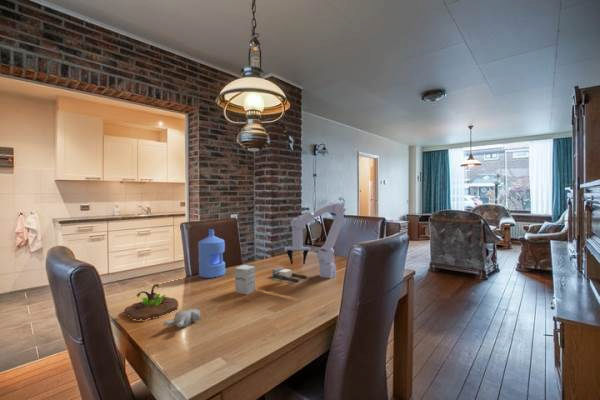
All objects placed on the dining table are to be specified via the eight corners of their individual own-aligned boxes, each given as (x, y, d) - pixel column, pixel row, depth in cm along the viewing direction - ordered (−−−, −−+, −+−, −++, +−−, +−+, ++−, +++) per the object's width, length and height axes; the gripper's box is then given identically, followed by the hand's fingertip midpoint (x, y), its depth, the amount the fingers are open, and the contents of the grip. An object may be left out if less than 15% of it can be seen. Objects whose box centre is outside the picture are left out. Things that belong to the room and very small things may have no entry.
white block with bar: (291, 275, 165) (291, 269, 165) (280, 280, 157) (280, 274, 157) (285, 274, 168) (285, 268, 168) (273, 279, 160) (273, 272, 160)
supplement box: (235, 292, 143) (234, 267, 142) (244, 288, 149) (243, 264, 149) (246, 295, 139) (246, 269, 139) (255, 290, 146) (255, 265, 146)
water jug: (193, 277, 170) (192, 230, 169) (209, 270, 185) (208, 227, 184) (216, 279, 166) (214, 231, 165) (230, 272, 181) (229, 228, 180)
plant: (186, 309, 124) (185, 284, 124) (137, 325, 109) (136, 297, 109) (166, 298, 137) (165, 275, 137) (120, 312, 123) (119, 286, 122)
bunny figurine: (206, 307, 116) (183, 318, 101) (205, 320, 115) (182, 333, 101) (185, 305, 118) (160, 316, 103) (185, 318, 117) (159, 331, 103)
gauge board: (310, 280, 160) (310, 271, 160) (296, 287, 150) (296, 277, 149) (280, 274, 173) (280, 266, 173) (266, 280, 162) (265, 271, 162)
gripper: (311, 238, 161) (311, 262, 162) (286, 238, 163) (286, 261, 164) (309, 240, 154) (310, 265, 155) (283, 240, 156) (284, 265, 157)
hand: (297, 263), depth 159 cm, fingers open, 6 cm apart
